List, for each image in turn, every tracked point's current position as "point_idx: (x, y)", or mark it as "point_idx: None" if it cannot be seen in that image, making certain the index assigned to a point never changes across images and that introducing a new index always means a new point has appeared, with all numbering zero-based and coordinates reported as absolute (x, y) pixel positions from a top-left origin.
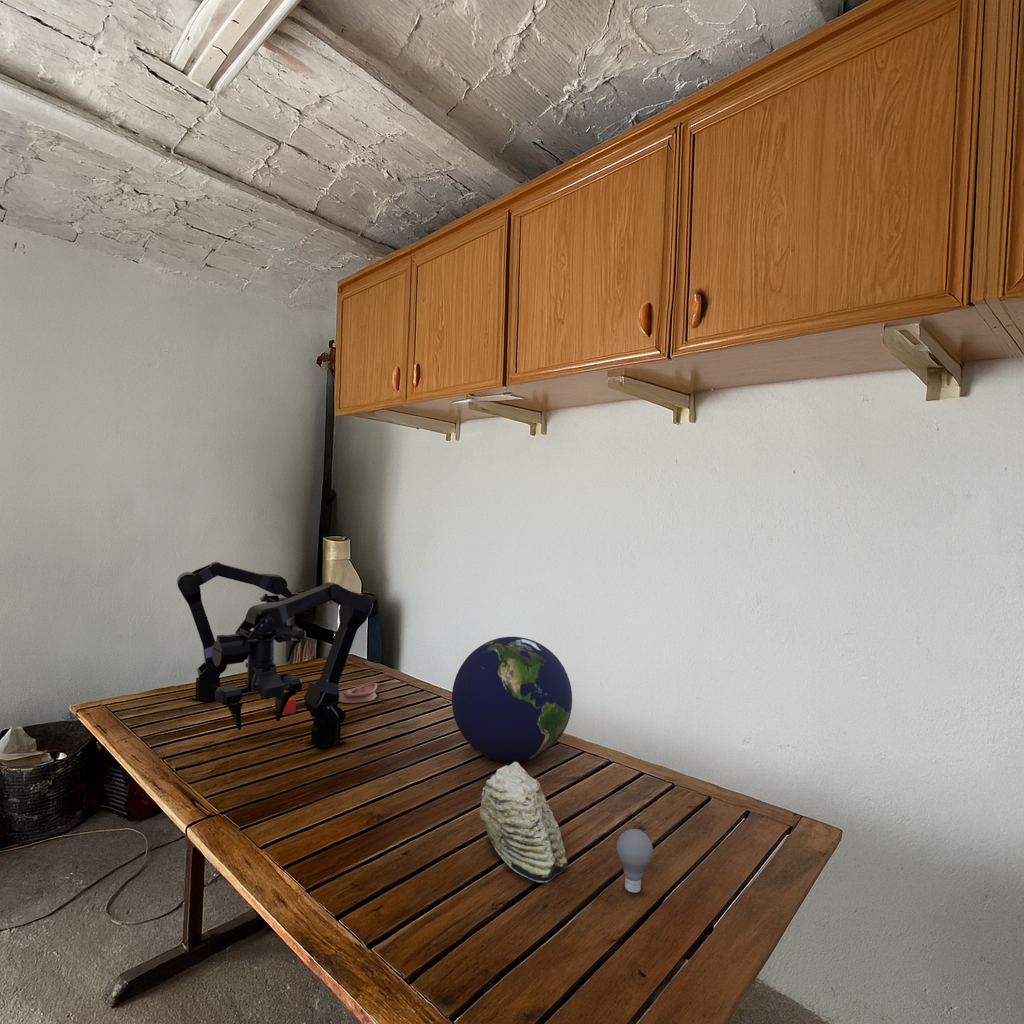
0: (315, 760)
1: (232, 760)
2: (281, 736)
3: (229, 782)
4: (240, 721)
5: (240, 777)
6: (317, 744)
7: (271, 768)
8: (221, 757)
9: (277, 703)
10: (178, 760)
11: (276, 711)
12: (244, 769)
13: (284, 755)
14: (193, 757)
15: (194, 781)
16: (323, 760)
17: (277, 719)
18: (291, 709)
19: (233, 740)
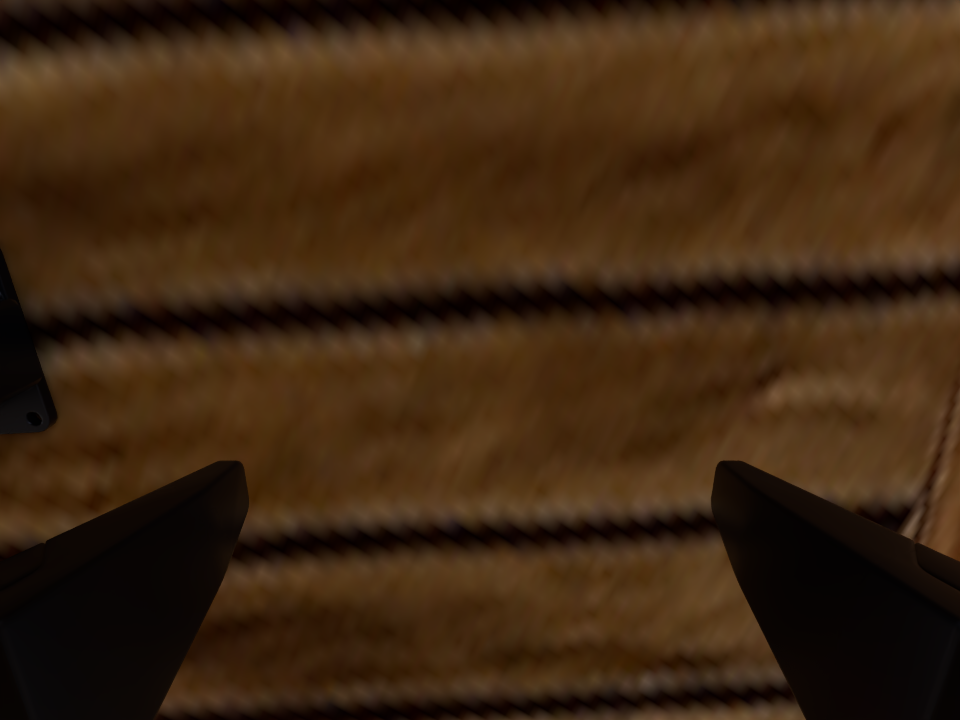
0: (101, 79)
1: (599, 453)
2: None
3: (794, 114)
4: (796, 503)
5: (694, 150)
6: (3, 299)
7: (449, 159)
8: (628, 531)
9: (116, 693)
10: None
11: (197, 585)
12: (607, 268)
13: (283, 324)
14: (746, 616)
15: (940, 289)
16: (39, 33)
17: (236, 479)
18: None
19: (465, 703)
